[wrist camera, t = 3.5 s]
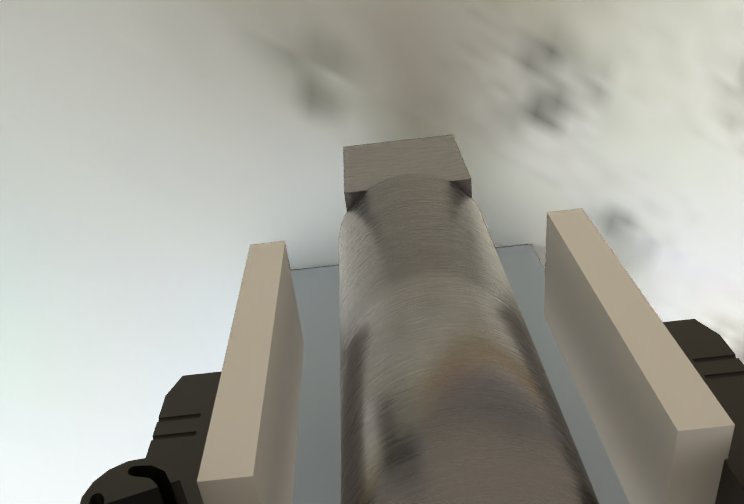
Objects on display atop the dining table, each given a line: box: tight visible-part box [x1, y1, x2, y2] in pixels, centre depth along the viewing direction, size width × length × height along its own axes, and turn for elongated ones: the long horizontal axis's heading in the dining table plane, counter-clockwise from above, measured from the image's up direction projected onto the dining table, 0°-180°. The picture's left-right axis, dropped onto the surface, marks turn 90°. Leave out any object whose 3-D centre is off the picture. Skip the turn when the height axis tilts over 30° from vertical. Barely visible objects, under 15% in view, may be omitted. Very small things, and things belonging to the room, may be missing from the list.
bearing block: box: [290, 244, 630, 504], centre depth 27 cm, size 10×12×15 cm
